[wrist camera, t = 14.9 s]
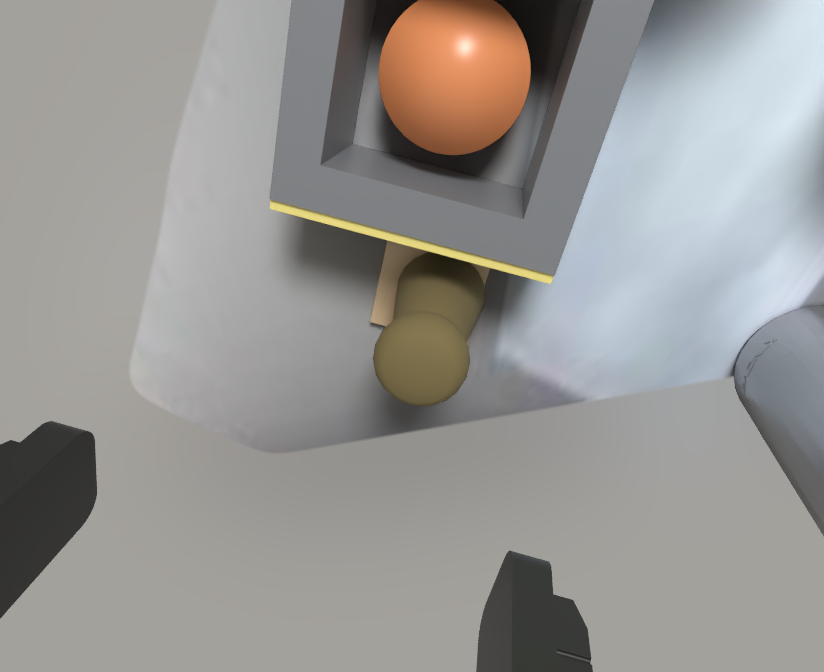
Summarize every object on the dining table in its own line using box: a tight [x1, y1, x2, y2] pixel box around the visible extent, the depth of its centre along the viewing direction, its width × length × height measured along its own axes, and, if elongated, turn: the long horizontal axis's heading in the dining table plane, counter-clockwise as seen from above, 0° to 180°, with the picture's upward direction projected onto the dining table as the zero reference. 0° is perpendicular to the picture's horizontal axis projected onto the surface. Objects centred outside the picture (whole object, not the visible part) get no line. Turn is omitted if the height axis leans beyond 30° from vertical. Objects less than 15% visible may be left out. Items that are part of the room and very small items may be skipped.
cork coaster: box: [370, 240, 490, 343], centre depth 41 cm, size 7×7×1 cm
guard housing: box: [270, 0, 654, 284], centre depth 32 cm, size 16×17×7 cm
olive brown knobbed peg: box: [373, 252, 485, 406], centre depth 36 cm, size 6×6×11 cm
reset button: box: [379, 0, 531, 155], centre depth 33 cm, size 8×8×3 cm
